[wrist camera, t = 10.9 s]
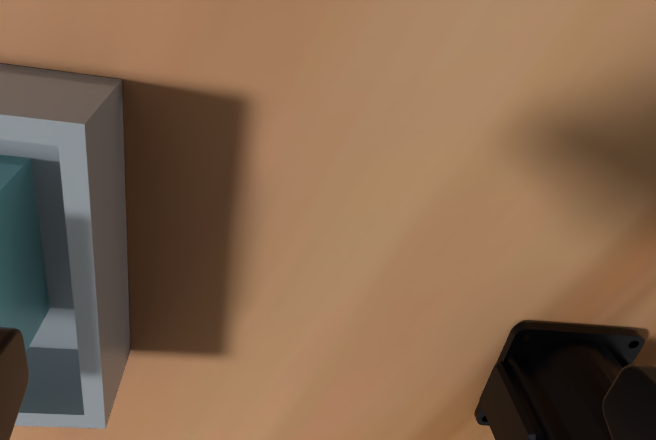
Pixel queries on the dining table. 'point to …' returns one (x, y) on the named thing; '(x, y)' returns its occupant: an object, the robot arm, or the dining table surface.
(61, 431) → the dining table surface
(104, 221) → the big crate
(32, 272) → the small crate
